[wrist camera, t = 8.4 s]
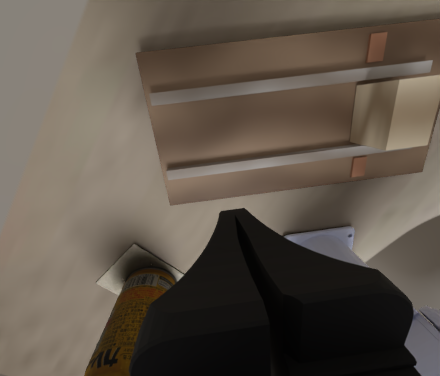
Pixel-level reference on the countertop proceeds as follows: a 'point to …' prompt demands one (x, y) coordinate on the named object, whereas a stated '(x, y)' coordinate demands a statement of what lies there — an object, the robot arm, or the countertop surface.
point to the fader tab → (395, 113)
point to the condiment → (128, 308)
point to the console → (278, 109)
